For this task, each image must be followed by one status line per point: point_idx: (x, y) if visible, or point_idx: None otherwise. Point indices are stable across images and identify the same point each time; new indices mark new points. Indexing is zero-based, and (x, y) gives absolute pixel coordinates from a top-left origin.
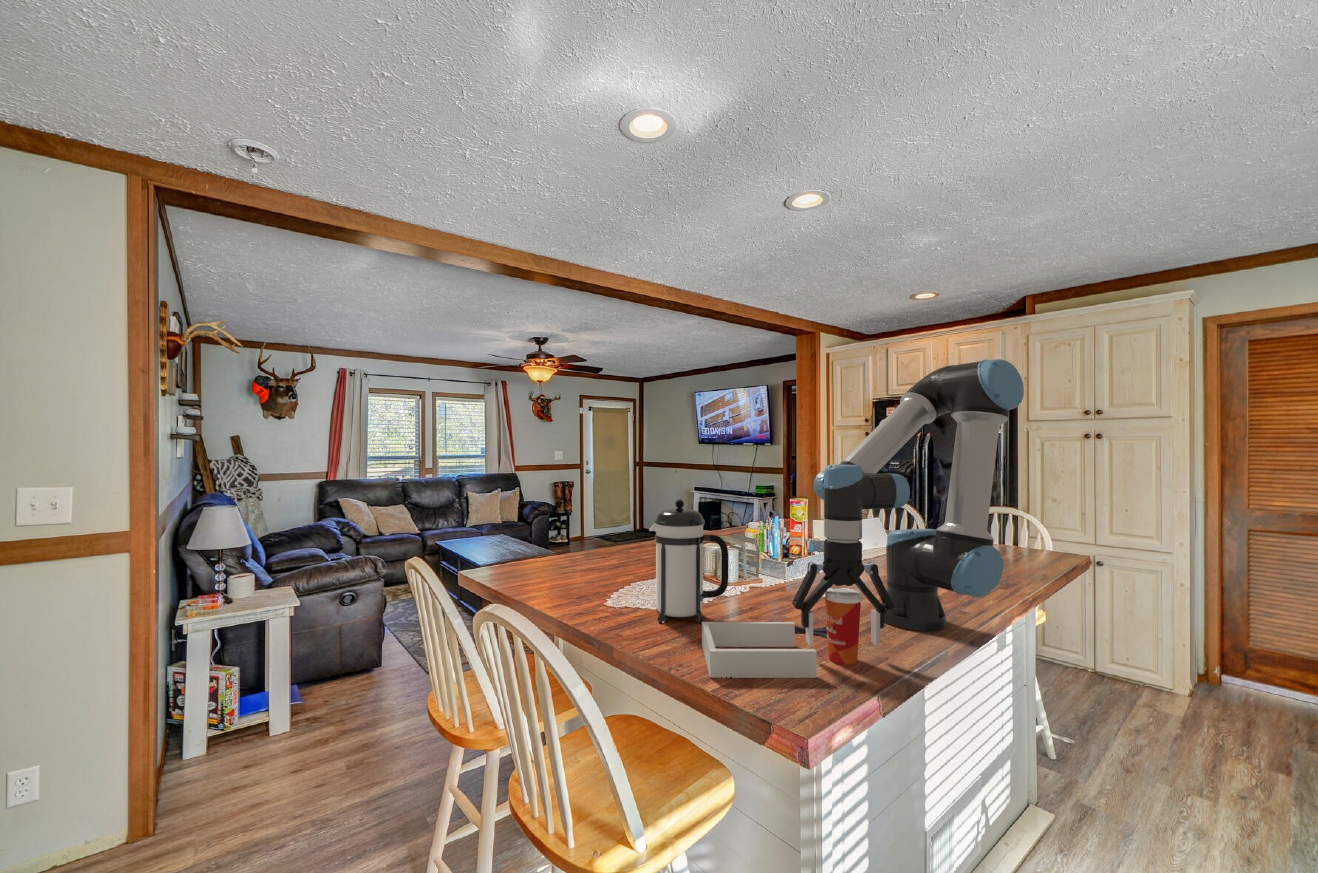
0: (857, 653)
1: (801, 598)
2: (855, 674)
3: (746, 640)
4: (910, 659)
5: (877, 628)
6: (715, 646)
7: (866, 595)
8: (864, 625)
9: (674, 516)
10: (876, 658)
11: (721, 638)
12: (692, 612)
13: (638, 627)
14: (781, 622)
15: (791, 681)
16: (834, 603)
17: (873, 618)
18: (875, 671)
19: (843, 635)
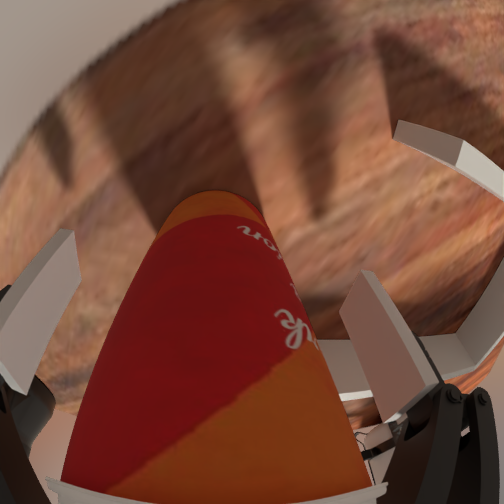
0: (164, 223)
1: (490, 435)
2: (240, 103)
3: None
4: (8, 217)
5: (28, 280)
6: (447, 334)
7: (11, 495)
8: (82, 393)
9: None
10: (89, 236)
11: (448, 346)
12: (402, 418)
13: (457, 379)
14: (353, 397)
15: (460, 130)
16: (366, 472)
17: (26, 342)
18: (141, 121)
19: (254, 256)
